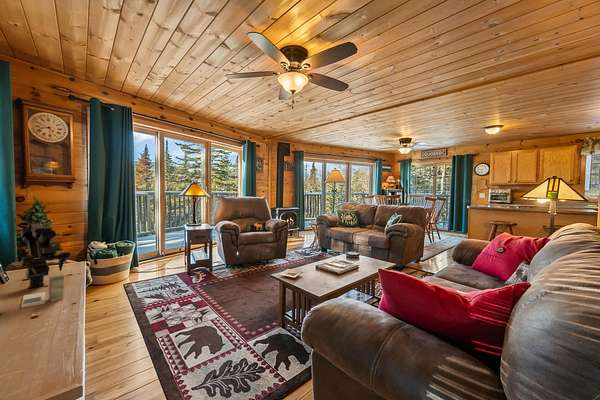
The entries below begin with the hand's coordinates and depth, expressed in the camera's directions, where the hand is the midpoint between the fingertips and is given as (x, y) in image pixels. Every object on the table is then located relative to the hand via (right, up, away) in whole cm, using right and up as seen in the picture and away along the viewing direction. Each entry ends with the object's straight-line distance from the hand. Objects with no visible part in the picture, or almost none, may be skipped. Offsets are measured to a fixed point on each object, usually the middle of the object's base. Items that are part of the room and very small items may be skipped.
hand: (49, 272), depth 133 cm
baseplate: (-2, -13, -6) cm, 14 cm away
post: (+6, -13, -3) cm, 15 cm away
